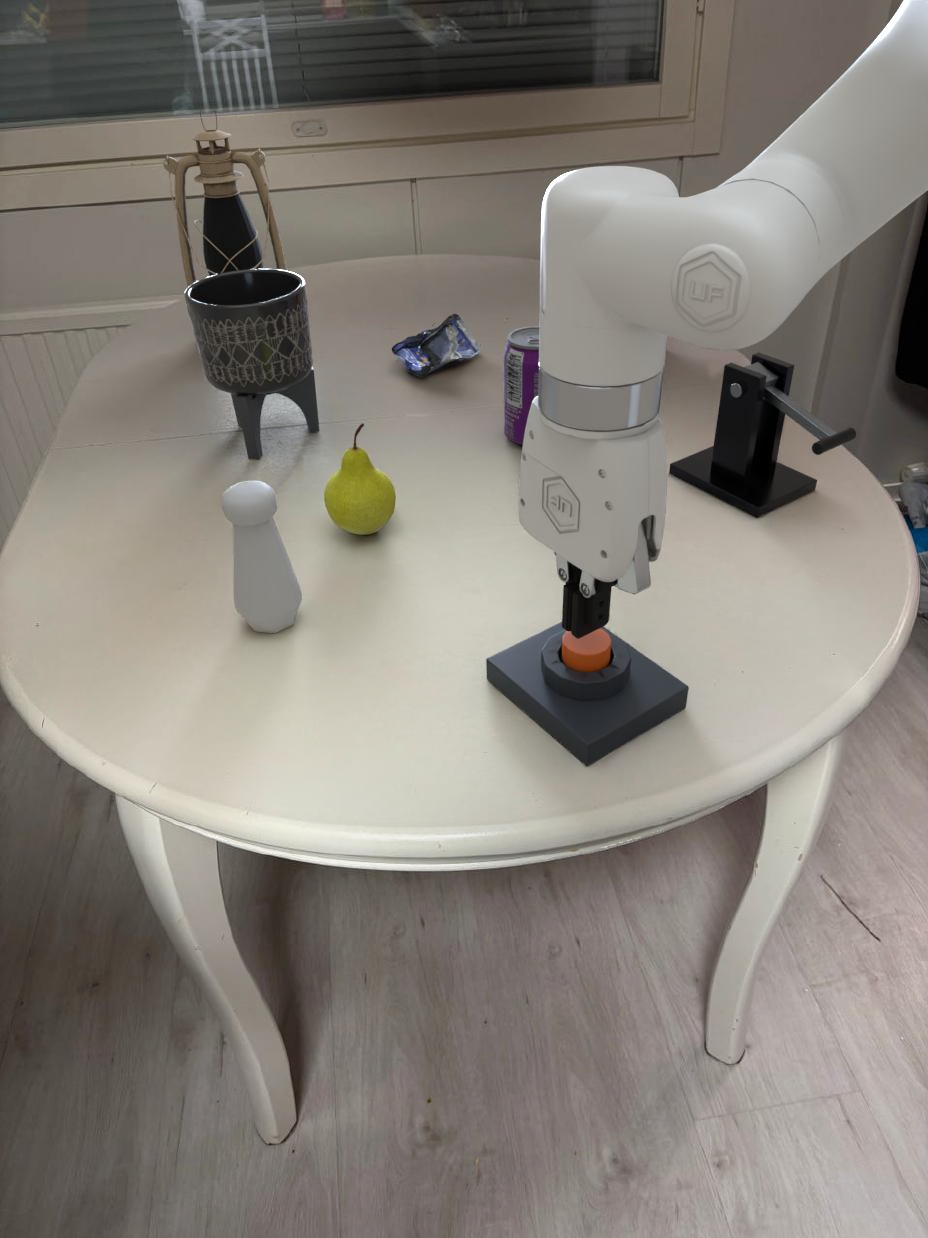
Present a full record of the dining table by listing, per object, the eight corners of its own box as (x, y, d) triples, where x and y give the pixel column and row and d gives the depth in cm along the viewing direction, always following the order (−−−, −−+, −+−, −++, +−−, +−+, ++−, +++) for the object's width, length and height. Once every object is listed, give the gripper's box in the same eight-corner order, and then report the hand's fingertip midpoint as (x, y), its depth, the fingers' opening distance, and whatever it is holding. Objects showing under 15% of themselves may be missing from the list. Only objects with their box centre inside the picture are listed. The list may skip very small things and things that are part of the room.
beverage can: (567, 450, 105) (571, 346, 97) (504, 452, 105) (503, 349, 98) (563, 422, 110) (566, 323, 103) (503, 424, 110) (502, 325, 103)
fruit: (316, 527, 93) (299, 416, 86) (373, 504, 96) (361, 396, 89) (353, 555, 89) (337, 441, 82) (411, 531, 92) (401, 419, 85)
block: (686, 708, 70) (692, 668, 68) (586, 767, 66) (589, 726, 63) (581, 631, 78) (583, 593, 76) (486, 679, 74) (485, 640, 71)
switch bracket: (815, 490, 95) (841, 371, 88) (756, 518, 91) (778, 396, 84) (726, 449, 103) (742, 336, 96) (668, 473, 99) (680, 358, 92)
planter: (305, 466, 104) (280, 308, 93) (198, 459, 106) (162, 304, 96) (340, 416, 114) (321, 269, 103) (241, 411, 116) (213, 266, 106)
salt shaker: (249, 647, 78) (219, 514, 70) (231, 612, 82) (200, 483, 74) (315, 626, 80) (292, 494, 72) (293, 593, 84) (270, 465, 76)
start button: (619, 660, 69) (621, 642, 68) (583, 679, 68) (584, 661, 67) (587, 637, 72) (588, 619, 71) (552, 655, 70) (552, 637, 69)
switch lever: (850, 446, 88) (861, 426, 86) (816, 462, 85) (827, 442, 84) (759, 378, 93) (767, 357, 92) (724, 391, 91) (733, 370, 89)
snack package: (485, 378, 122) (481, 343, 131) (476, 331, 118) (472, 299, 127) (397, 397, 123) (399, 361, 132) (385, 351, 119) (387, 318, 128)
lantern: (194, 351, 134) (143, 117, 116) (201, 323, 143) (154, 103, 125) (296, 341, 135) (260, 110, 117) (295, 314, 144) (263, 96, 126)
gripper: (478, 370, 60) (483, 598, 71) (640, 453, 50) (617, 702, 61) (566, 342, 64) (558, 564, 75) (734, 415, 54) (696, 658, 65)
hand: (585, 626), depth 68 cm, fingers closed
